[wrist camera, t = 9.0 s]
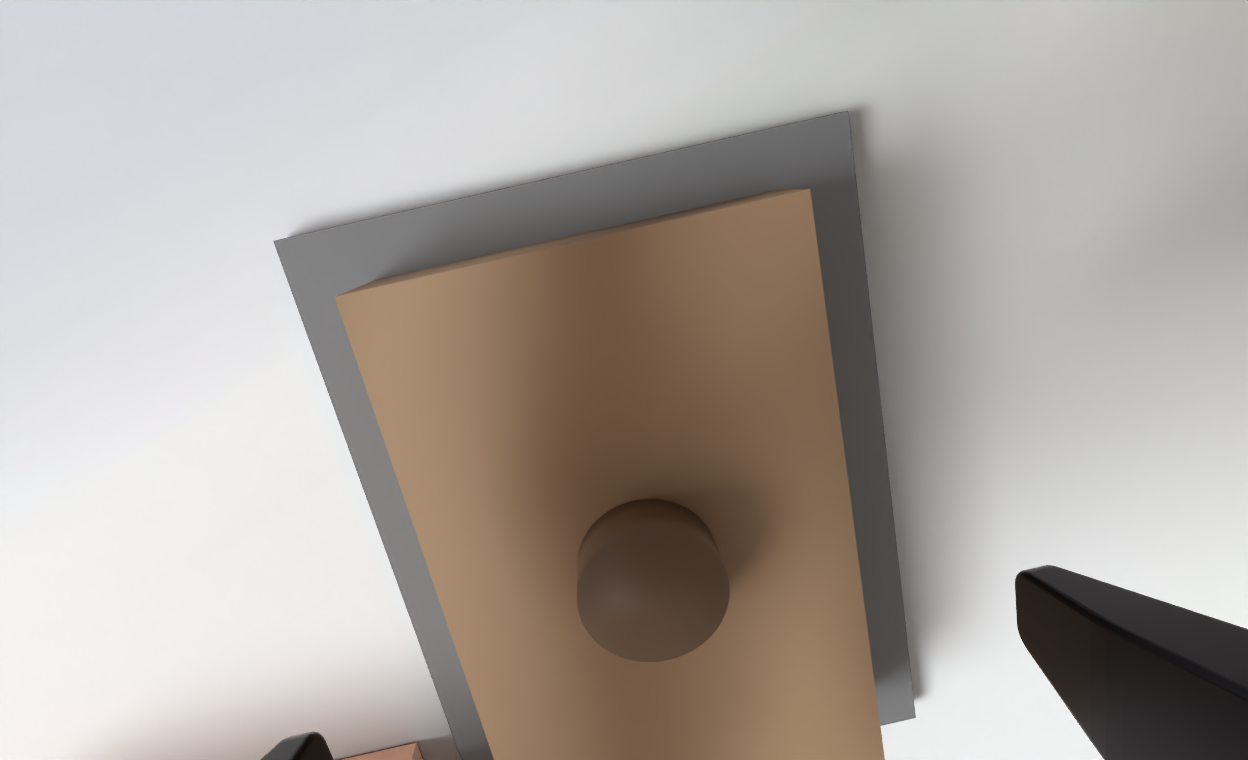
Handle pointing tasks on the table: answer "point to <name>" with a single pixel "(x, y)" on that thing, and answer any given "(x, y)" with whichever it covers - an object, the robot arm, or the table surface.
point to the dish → (393, 754)
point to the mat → (589, 204)
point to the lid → (634, 486)
